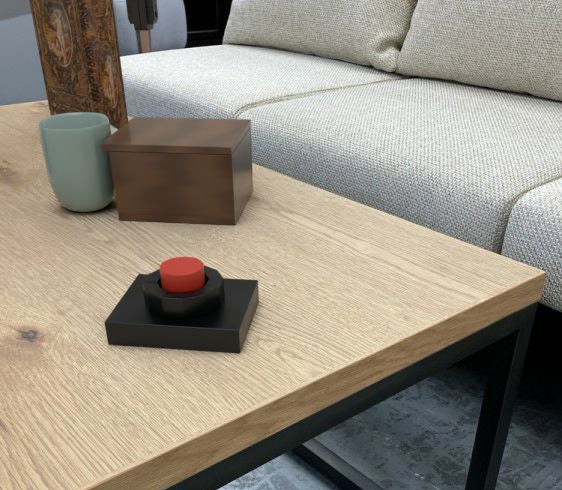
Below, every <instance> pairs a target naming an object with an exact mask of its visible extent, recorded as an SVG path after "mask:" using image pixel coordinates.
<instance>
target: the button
mask: <svg viewBox="0 0 562 490" xmlns="http://www.w3.org/2000/svg"><path fill="white" fill-rule="evenodd" d="M204 266H205V265H204V262H203V260H201V259H199V258H197V257H193V256H176V257H171V258H168V259H166V260H164V261H163V262H161V263H160V264H159V269H160V276H161V285H162V288H163V289H164V290H167V291H170V292H188V291H193V290H197V289H199V288H201V287H203V286H204V285H205V274H204Z"/></svg>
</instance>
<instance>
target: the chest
mask: <svg viewBox="0 0 562 490" xmlns="http://www.w3.org/2000/svg"><path fill="white" fill-rule="evenodd" d="M109 156H110V163H111V170H112V176H113V183H114V190H115V195H114V197H115V202H116V203H115V204H116V210H117V216H118V220H119V221H129V222H130V221H131V222H133V221H134V222H155V223H177V224H202V225H223V226H225V225H226V226H236V225H237V222H238V221H239V219H240V217H241V215H242V213H243V211H244V209H245V207H246V205H247V203H248V201H249V199H250V197H251V196H252V194H253V192H254V177H253V176H254V173H253V172H254V171H253V147H252V126H251V127H250V128H249V130H248V131H247V133H246V134H245V136H244V137H243V139H242V140H241V141H240V143H239V144H238V146H237V147H236V149H235V150H234V152H233V153H232V155H225V154H190V153H155V152H121V151H109Z"/></svg>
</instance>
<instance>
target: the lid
mask: <svg viewBox="0 0 562 490" xmlns="http://www.w3.org/2000/svg"><path fill="white" fill-rule="evenodd" d="M250 127H251V128H252V120H251V119H245V118H244V119H242V118H241V119H239V118H203V117H202V118H199V117H198V118H197V117H158V116H157V117H151V116H150V117H149V116H134V117H132V118H131V119H130V120H128V122H127V123H126V124H125V125H124V126H122V127H121V128H120V129H119V130H117V131H116V132H115V133H113V134H112V135H111V136H110V137H108V138H107V139H106V140H105V141H103V142H102V143H101V150H102V151H121V152H155V153H190V154H225V155H232V153H233V152H234V150H235V149H236V147H237V146H238V144H239V143H240V141H241V140H242V139H243V137H244V136H245V134H246V133H247V131H248V130H249V128H250Z"/></svg>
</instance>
